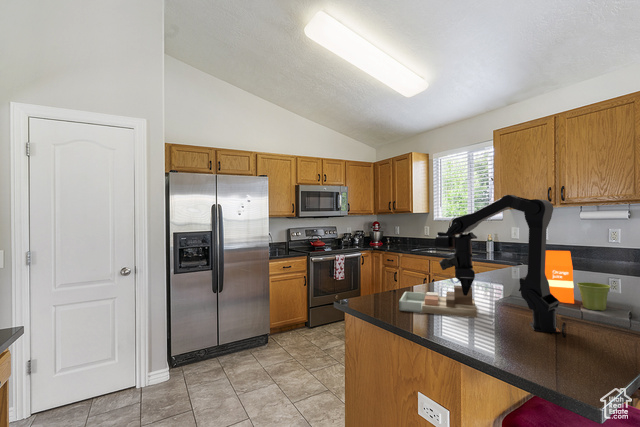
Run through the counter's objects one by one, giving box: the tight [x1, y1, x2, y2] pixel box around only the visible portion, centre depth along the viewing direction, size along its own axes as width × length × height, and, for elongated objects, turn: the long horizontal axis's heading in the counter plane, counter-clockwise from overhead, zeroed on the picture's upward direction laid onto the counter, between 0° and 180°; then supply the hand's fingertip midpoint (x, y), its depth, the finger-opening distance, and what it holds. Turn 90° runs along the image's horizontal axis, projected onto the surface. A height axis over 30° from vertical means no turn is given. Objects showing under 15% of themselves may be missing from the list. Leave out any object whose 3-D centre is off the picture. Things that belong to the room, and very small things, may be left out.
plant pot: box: [576, 281, 612, 312], centre depth 112 cm, size 9×9×9 cm
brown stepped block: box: [445, 285, 473, 307], centre depth 114 cm, size 13×9×6 cm
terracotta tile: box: [425, 295, 438, 305], centre depth 115 cm, size 4×4×2 cm
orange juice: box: [545, 250, 575, 304], centre depth 124 cm, size 8×9×20 cm
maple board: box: [421, 295, 478, 318], centre depth 116 cm, size 16×18×2 cm
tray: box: [398, 291, 426, 313], centre depth 121 cm, size 16×8×4 cm, turn 157°
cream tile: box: [425, 291, 440, 300], centre depth 121 cm, size 4×4×2 cm
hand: (464, 292), depth 114 cm, fingers open, 9 cm apart
